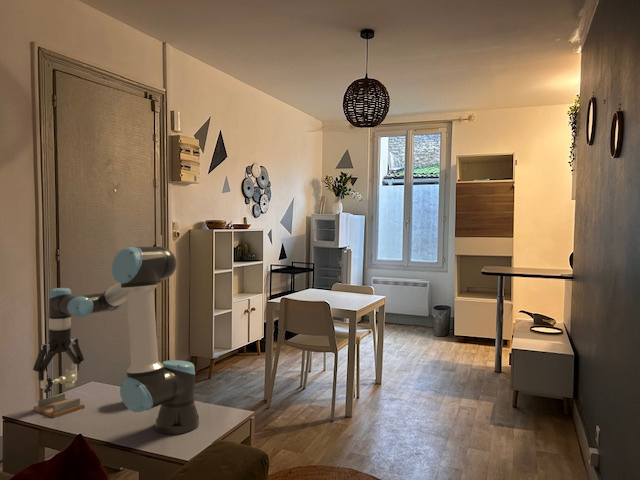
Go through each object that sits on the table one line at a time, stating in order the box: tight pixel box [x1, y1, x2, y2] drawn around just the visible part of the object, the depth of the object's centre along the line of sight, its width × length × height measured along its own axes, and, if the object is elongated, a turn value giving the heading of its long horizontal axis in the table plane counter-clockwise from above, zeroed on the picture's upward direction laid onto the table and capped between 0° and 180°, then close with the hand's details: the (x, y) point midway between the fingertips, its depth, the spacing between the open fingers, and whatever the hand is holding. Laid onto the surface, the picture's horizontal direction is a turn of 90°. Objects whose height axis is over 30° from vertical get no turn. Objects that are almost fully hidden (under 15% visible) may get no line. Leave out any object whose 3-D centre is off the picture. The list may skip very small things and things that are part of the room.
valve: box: [40, 367, 76, 394], centre depth 188 cm, size 7×7×12 cm
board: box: [33, 392, 85, 419], centre depth 188 cm, size 14×12×4 cm
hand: (59, 384), depth 188 cm, fingers closed on valve, 11 cm apart
